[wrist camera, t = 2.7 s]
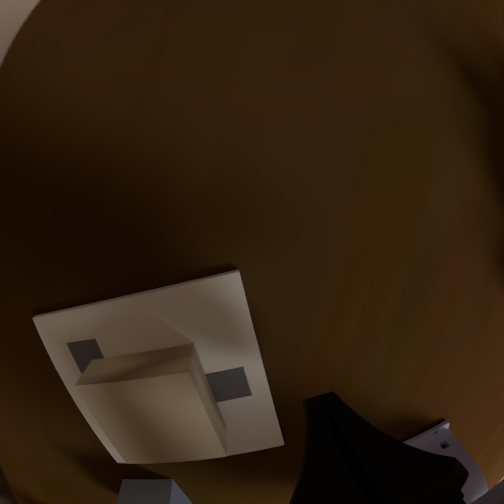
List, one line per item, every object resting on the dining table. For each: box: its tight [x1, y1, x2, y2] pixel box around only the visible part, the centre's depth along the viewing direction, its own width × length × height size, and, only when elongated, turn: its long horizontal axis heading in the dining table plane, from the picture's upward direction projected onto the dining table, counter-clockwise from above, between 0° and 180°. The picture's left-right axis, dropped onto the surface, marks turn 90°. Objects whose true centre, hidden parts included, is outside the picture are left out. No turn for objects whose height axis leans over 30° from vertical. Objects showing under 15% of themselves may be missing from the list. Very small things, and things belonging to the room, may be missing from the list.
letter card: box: [32, 269, 284, 463], centre depth 15 cm, size 12×12×1 cm
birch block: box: [75, 343, 227, 464], centre depth 14 cm, size 6×6×2 cm
